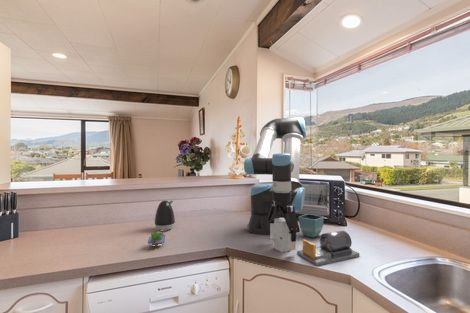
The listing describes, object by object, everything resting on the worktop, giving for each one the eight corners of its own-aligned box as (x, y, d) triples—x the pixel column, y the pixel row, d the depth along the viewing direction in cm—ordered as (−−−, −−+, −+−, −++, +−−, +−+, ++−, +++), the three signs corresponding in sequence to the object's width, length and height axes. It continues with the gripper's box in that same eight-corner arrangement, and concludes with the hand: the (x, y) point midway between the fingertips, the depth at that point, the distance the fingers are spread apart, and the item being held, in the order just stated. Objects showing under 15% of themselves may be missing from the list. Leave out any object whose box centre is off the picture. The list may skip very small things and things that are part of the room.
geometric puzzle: (163, 246, 99) (164, 226, 103) (145, 247, 97) (147, 227, 102) (165, 251, 104) (166, 232, 109) (148, 252, 103) (150, 233, 108)
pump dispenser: (179, 228, 129) (179, 199, 129) (164, 234, 121) (163, 203, 121) (166, 225, 135) (165, 198, 135) (150, 230, 126) (150, 201, 126)
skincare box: (273, 247, 101) (273, 218, 101) (282, 245, 103) (282, 217, 103) (282, 252, 96) (281, 222, 96) (291, 250, 98) (291, 220, 98)
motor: (297, 254, 95) (297, 232, 94) (337, 246, 102) (337, 226, 102) (316, 265, 84) (316, 242, 84) (359, 256, 92) (359, 234, 92)
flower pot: (307, 231, 122) (307, 213, 122) (324, 235, 116) (324, 216, 116) (298, 235, 116) (298, 216, 116) (315, 240, 110) (315, 220, 110)
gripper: (259, 188, 110) (259, 235, 110) (292, 196, 87) (292, 256, 87) (273, 187, 112) (274, 233, 113) (309, 195, 89) (310, 253, 89)
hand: (282, 243), depth 100 cm, fingers open, 13 cm apart
